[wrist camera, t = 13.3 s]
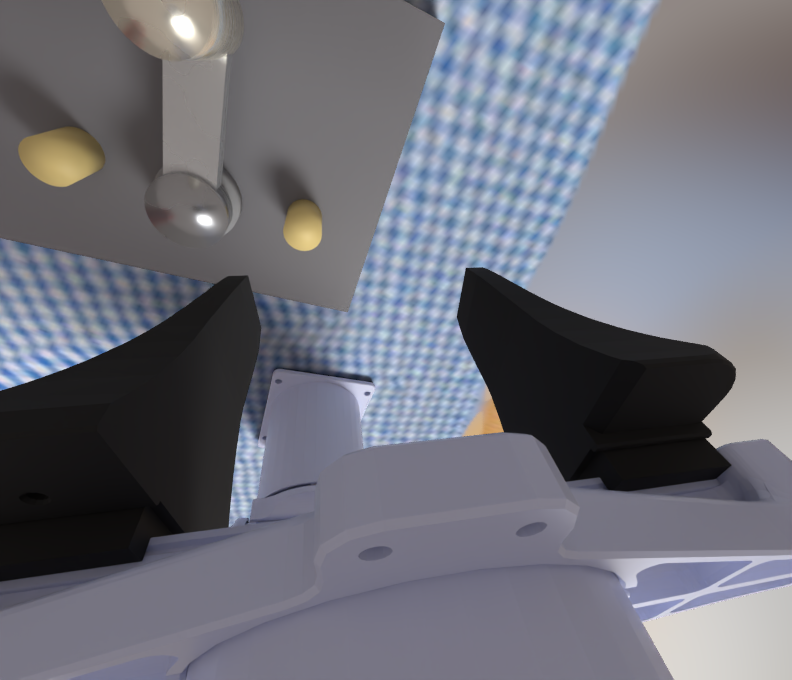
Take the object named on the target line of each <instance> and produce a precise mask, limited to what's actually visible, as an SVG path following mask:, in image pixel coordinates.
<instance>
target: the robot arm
mask: <svg viewBox="0 0 792 680" xmlns="http://www.w3.org/2000/svg"><path fill="white" fill-rule="evenodd" d="M457 319H458V322H459V326H460V329H461V332H462V335H463V338H464V340H465V343H466V345H467V347H468V349H469V351H470V353H471V355H472V357H473V359H474V361H475V363H476V365H477V367H478V369H479V371H480V373H481V375H482V377H483V379H484V381H485V383H486V385H487V387H488V389H489V392H490V394H491V396H492V399H493V402H494V404H495V407H496V410H497V413H498V415H499V418H500V421H501V424H502V427H503V430H504V432H501V433H492V434H483V435H474V436H464V437H455V438H446V439H437V440H428V441H418V442H409V443H400V444H391V445H382V446H373V447H369V448H366V449H364V448H363V438H362V428H361V419H362V417H363V415H364V412H365V410H366V408H367V406H368V404H369V402H370V399H371V397H372V395H373V393H374V391H375V385H374V384H373V383H372V382H366V381H359V380H352V379H346V378H339V377H332V376H325V375H319V374H312V373H305V372H298V371H292V370H285V369H276V370H275V371H274V372H273V376H272V380H271V385H270V389H269V394H268V399H267V403H266V408H265V412H264V417H263V422H262V426H261V431H260V436H259V440H258V446H259V447H261V448H265V451H264V457H263V464H262V470H261V477H260V483H259V490H258V496H257V499H254V500H253V502H252V508H251V515H250V522H249V518H238V519H237V520H236V521H235V523H234V524H233V525H232V526H231V527H228V526H229V513H230V503H231V493H232V482H233V473H234V465H235V457H236V449H237V442H238V435H239V428H240V421H241V416H242V412H243V407H244V404H245V400H246V396H247V393H248V389H249V385H250V382H251V378H252V375H253V371H254V367H255V363H256V360H257V356H258V351H259V343H260V333H261V325H260V321H259V317H258V313H257V309H256V305H255V301H254V297H253V293H252V289H251V285H250V281H249V277H248V275H244V276H227V277H225V278H224V279H222V280H221V281H219V282H218V283H217V284H215V285H214V286H213V287H211V288H210V289H209V290H207V291H206V292H205V293H203V294H202V295H201V296H199V297H198V298H197V299H195V300H194V301H193V302H191V303H190V304H189V305H187V306H186V307H184V308H183V309H181V310H180V311H178V312H177V313H175V314H174V315H172V316H171V317H169V318H168V319H166V320H165V321H163V322H162V323H160V324H159V325H157V326H155V327H154V328H152V329H150V330H149V331H147V332H145V333H143V334H141V335H139V336H138V337H136V338H134V339H132V340H130V341H128V342H126V343H124V344H122V345H120V346H118V347H116V348H113V349H111V350H109V351H107V352H105V353H102V354H100V355H98V356H96V357H94V358H91V359H89V360H87V361H84V362H82V363H79V364H77V365H74V366H72V367H69V368H67V369H64V370H62V371H59V372H56V373H53V374H50V375H48V376H45V377H42V378H39V379H36V380H33V381H30V382H28V383H25V384H21V385H18V386H15V387H12V388H8V389H5V390H2V391H0V680H674V679H673V677H672V675H671V674H670V672H669V670H668V668H667V666H666V665H665V663H664V661H663V659H662V658H661V656H660V654H659V652H658V650H657V648H656V647H655V645H654V643H653V641H652V639H651V638H650V636H649V634H648V632H647V630H646V629H645V627H644V625H643V623H642V622H645V621H649V620H653V619H657V618H660V617H664V616H668V615H672V614H675V613H679V612H683V611H687V610H691V609H694V608H698V607H702V606H706V605H710V604H714V603H718V602H722V601H725V600H730V599H733V598H738V597H742V596H747V595H751V594H755V593H759V592H763V591H768V590H773V589H778V588H782V587H787V586H791V585H792V461H791V460H790V459H789V458H788V457H787V456H786V455H784V454H783V453H782V452H781V451H780V450H779V449H777V448H776V447H775V446H774V445H773V444H772V443H771V442H769V441H768V440H764V439H760V440H751V441H743V442H735V443H730V444H726V445H723V446H721V447H719V448H717V449H715V448H714V447H713V446H712V445H711V444H710V443H709V442H708V441H707V440H706V439H705V438H709V437H710V436H711V435H712V433H711V430H710V429H709V428H708V427H707V426H706V425H705V424H703V422H702V421H703V420H704V418H705V417H706V416H707V415H708V414H709V413H710V412H711V411H712V410H713V409H714V408H715V407H716V406H717V405H718V404H719V402H720V401H721V400H722V399H723V398H724V397H725V396H726V395H727V393H728V392H729V391H730V389H731V388H732V386H733V384H734V381H735V377H736V368H735V367H734V366H733V364H732V363H731V362H730V361H728V360H727V359H726V358H724V357H723V356H722V355H720V354H719V353H718V352H717V351H715V350H714V349H712V348H710V347H708V346H706V345H700V344H694V343H688V342H683V341H677V340H671V339H665V338H660V337H656V336H651V335H646V334H643V333H638V332H634V331H630V330H626V329H622V328H618V327H615V326H612V325H609V324H606V323H602V322H599V321H596V320H593V319H590V318H587V317H584V316H582V315H579V314H577V313H574V312H572V311H569V310H567V309H564V308H562V307H559V306H557V305H555V304H553V303H551V302H549V301H546V300H545V299H543V298H541V297H538V296H537V295H535V294H533V293H531V292H529V291H527V290H525V289H523V288H522V287H520V286H518V285H516V284H514V283H513V282H511V281H509V280H507V279H505V278H504V277H502V276H500V275H498V274H496V273H494V272H492V271H490V270H488V269H486V268H483V267H482V268H466V271H465V276H464V281H463V287H462V292H461V297H460V303H459V308H458V313H457ZM277 379H280V380H277Z"/></svg>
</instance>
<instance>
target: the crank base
mask: <svg viewBox="0 0 792 680" xmlns="http://www.w3.org/2000/svg"><path fill="white" fill-rule="evenodd" d="M239 2H240V5H241V8H242V12H243V18H244V33H243V38H242V41H241V44H240V46H239V48H238V49H237V50H236V52H235V53H234V54H233V56H232V68H231V79H230V91H229V102H228V114H227V125H226V137H225V148H224V160H223V172H222V183H221V185H222V186H223V187H224V189H225V190H226V192H227V193H228V195H229V197H230V200H231V202H232V207H233V216H232V220H231V223H230V225H229V227H228V228H227V230H226V232H225V234H224V235H223V237H222V238H221V239H220V240H219V241H218V242H217V243H216V244H214V245H212V246H210V247H206V248H188V247H184V246H181V245H178V244H176V243H174V242H172V241H170V240H169V239H167V238H166V237H164V236H163V235H162V234H161V233H160V232H159V231H158V230H157V229H156V228H155V227H154V226H153V224H152V223H151V221H150V219H149V218H148V216H147V213H146V210H145V205H144V197H145V192H146V190H147V188H148V186H149V185H150V184H151V183H152V182H153V181H154V180H155V179H157V178H158V177H159V176H161V175H162V174H163V63H162V59H160V58H157V57H155V56H152V55H150V54H148V53H147V52H145V51H143V50H142V49H140V48H139V47H138V46H136V45H135V44H134V43H133V42H132V41H130V40H129V39H128V38H127V37H126V36H125V35H124V34H123V33H122V31H121V30H120V29H119V28H118V27H117V25H116V24H115V23H114V21H113V20H112V18H111V17H110V15H109V14H108V12H107V10H106V8H105V7H104V5H103V2H102V0H0V238H3V239H8V240H12V241H17V242H22V243H26V244H31V245H36V246H40V247H45V248H50V249H54V250H59V251H64V252H68V253H73V254H78V255H82V256H87V257H92V258H97V259H101V260H106V261H111V262H115V263H120V264H125V265H129V266H134V267H139V268H143V269H148V270H153V271H157V272H162V273H167V274H171V275H176V276H181V277H185V278H190V279H195V280H199V281H204V282H209V283H213V284H217V283H218V282H219V281H221V280H222V279H224V278H225V277H227V276H244V275H248V277H249V281H250V285H251V289H252V292H256V293H260V294H265V295H270V296H274V297H279V298H284V299H288V300H293V301H298V302H302V303H307V304H312V305H316V306H321V307H326V308H330V309H335V310H340V311H344V312H348V309H349V306H350V303H351V300H352V297H353V295H354V292H355V289H356V286H357V283H358V280H359V277H360V274H361V271H362V268H363V265H364V262H365V259H366V256H367V253H368V250H369V247H370V244H371V241H372V238H373V235H374V232H375V229H376V226H377V223H378V220H379V217H380V214H381V211H382V208H383V206H384V203H385V200H386V197H387V194H388V191H389V188H390V185H391V182H392V179H393V176H394V173H395V170H396V167H397V164H398V161H399V158H400V155H401V152H402V149H403V146H404V143H405V140H406V137H407V134H408V131H409V128H410V125H411V122H412V119H413V116H414V114H415V111H416V108H417V105H418V102H419V99H420V96H421V93H422V90H423V87H424V84H425V81H426V78H427V75H428V72H429V69H430V66H431V63H432V60H433V57H434V54H435V51H436V48H437V45H438V42H439V39H440V36H441V33H442V30H443V27H444V25H445V23H444V22H442V21H440V20H438V19H436V18H435V17H433V16H431V15H429V14H427V13H426V12H424V11H422V10H420V9H418V8H417V7H415V6H413V5H411V4H409V3H408V2H406V1H404V0H239Z"/></svg>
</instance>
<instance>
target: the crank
mask: <svg viewBox="0 0 792 680" xmlns="http://www.w3.org/2000/svg"><path fill="white" fill-rule="evenodd" d="M102 2H103V5H104V7H105V8H106V10H107V12H108V14H109V15H110V17H111V18H112V20H113V21H114V23H115V24H116V25H117V27H118V28H119V29H120V30H121V31H122V33H123V34H124V35H125V36H126V37H127V38H128V39H129V40H130V41H132V42H133V43H134V44H135V45H136V46H138V47H139V48H140V49H142V50H143V51H145V52H147V53H148V54H150V55H152V56H155V57H157V58H160V59H162V63H163V174H162V175H161V176H159V177H158V178H157V179H155V180H154V181H153V182H152V183H151V184H150V185H149V186H148V188H147V190H146V192H145V197H144V205H145V210H146V213H147V216H148V218H149V219H150V221H151V223H152V224H153V226H154V227H155V228H156V229H157V230H158V231H159V232H160V233H161V234H162V235H163V236H164V237H166V238H167V239H169V240H170V241H172V242H174V243H176V244H178V245H181V246H184V247H188V248H206V247H210V246H212V245H214V244H216V243H217V242H218V241H219V240H220V239H221V238H222V237H223V235H224V234H225V232H226V230H227V228H228V227H229V225H230V223H231V220H232V216H233V207H232V202H231V200H230V197H229V195H228V193H227V192H226V190H225V189H224V187H223V186H222V185H221V183H222V172H223V160H224V148H225V137H226V125H227V114H228V102H229V91H230V79H231V68H232V56H233V54H234V53H235V52H236V50H237V49H238V48H239V46H240V44H241V41H242V38H243V33H244V18H243V12H242V8H241V5H240V2H239V0H102Z"/></svg>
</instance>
